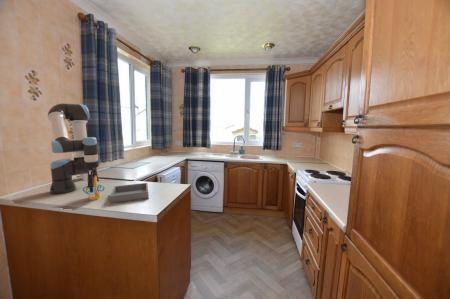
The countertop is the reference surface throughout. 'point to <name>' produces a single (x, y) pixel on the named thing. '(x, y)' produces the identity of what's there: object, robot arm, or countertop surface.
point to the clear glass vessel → (84, 176)
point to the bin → (129, 193)
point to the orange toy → (97, 193)
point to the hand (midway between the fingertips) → (94, 194)
